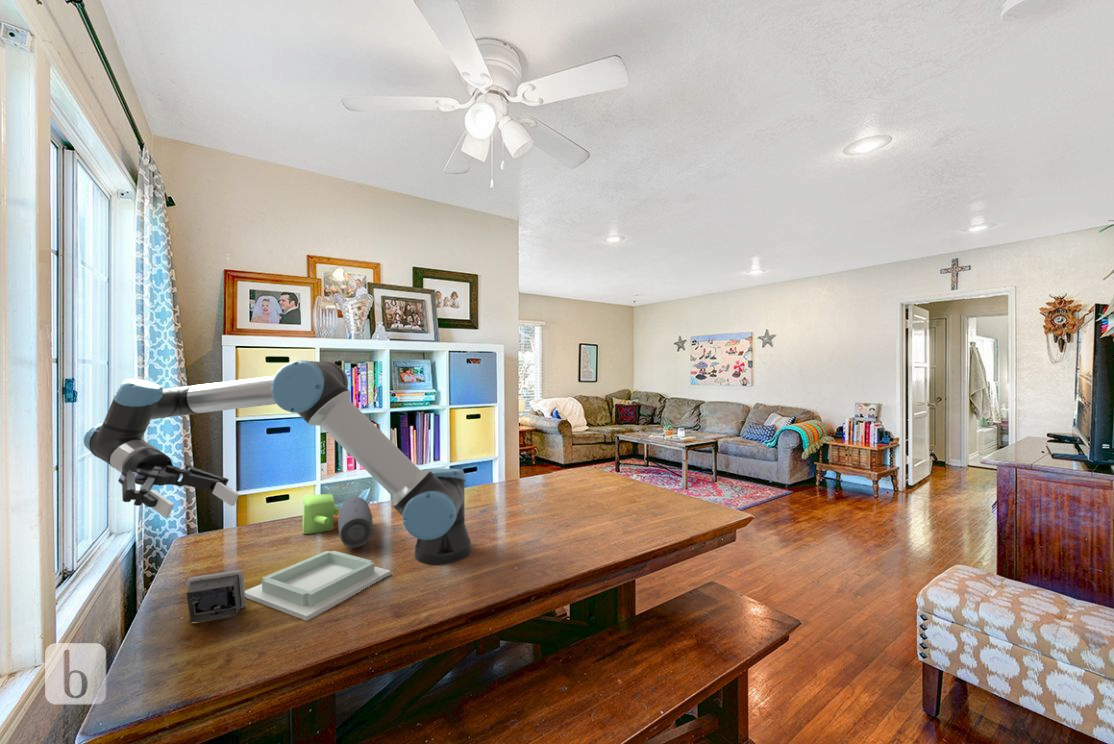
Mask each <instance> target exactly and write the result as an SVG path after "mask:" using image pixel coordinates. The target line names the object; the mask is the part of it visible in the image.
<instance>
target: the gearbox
mask: <svg viewBox="0 0 1114 744" xmlns="http://www.w3.org/2000/svg"><path fill="white" fill-rule="evenodd" d="M335 515H336V516H339V506H336V507H335V499H334V496H333V493H326V494H325V493H324V494H321V493H320V494H311V495H310V494H308V495H303V509H302V524H301V525H302V535H306V534H307V535H308V534H309V535H310V534H316V533H317V534H318V533H321V532H322V533H323V532H329V531H333V530H334V520H335V519H334V518H335Z"/></svg>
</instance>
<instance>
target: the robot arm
mask: <svg viewBox="0 0 1114 744" xmlns="http://www.w3.org/2000/svg"><path fill="white" fill-rule="evenodd" d="M351 396H352V392H351V391H350V390H349V379H348V376H347V373H346V372H345V371H344V369H342V367H340V366H339V365H338V364H335V363H333V362H331V361H318V360H317V361H312V360H305V359H304V360H297V361H292V362H288V363H286V364H285V365H283V366H281V367H280V368H279V369H278V370H277V371H276V373H275V374H274V375H271V376H268V375H267V376H260V377H252V378H245V379H243V378H242V379H235V380H228V381H227V380H226V381H220V382H211V383H202V384H194V385H185V386H174V387H163V386H161V385H160V384H158V383H156V382H152V381H150V380H146V379H138V378H129V379H128V378H127V379H125V380H123V381H122V382H121V384H120V385H119V387H118V389H117V391H116V392H115V394H114V395H113V398H112V401H111V404H110V406H109V408H108V411H107V414H106V415H105V418H104V420H103V422H101V423H98V424H95V425H94V426H93V427H92V428H91V429H90V430H89V429H88V431H86V432H85V434H84V437H83V444H84V447H85V449H87V450H88V451H89V452H90V453H91V454H92V456H94V457H96V458H97V459H99V460H101V461H104V463H106V464H108V465H109V466H110V467H112V468H113V469H115V470H116V471H117V472H119V473H120V476H119V478H118V481H117V482H118V483H119V484H120V485H121V488H122V489H121V493H122V502H124V503H129V502H131V501H133V500H134V503H133V505H134V506H137V507H138V506H139V507H140V506H142V505H145V506H146V507H148V508H151V509H152V510H154V511H155V512H156V513H158V514H159V515H161V516H163V518H169V517H170V516H171V513H172V510H173V509H174V506H175V503H174V502H172V501H171V500H169V498H167V497H165V496H163V495H162V494H161V493H159V492H158V491H157V490H155V489H153V486H159V487H160V486H168V485H171V486H177V487H183V486H187V487H192V488H196V489H201V490H206V491H210V492H212V494H213V495H214V496H216V497H217V498H218V499H220V500H222V501H223V502H225V503H226V504H228V505H229V506H230V507H233V506H235V505H236V502H237V500H238V498H239V496H240V494H239V493H238V492H236V491H235V490H233V489H232V488H230V487H229V486H227V484H228V483H229V478H226V477H223V476H222V475H218V474H214V473H211V472H207V471H206V470H202V469H199V468H196V467H195V466H193V465H191V464H187V465H185V467H184V468H180V467H177V466H174V465H173V462H172V458H171V457H170V456H169V455H167V454H166V453H163V451H161V450H159V449H158V448H157V447H155V446H154V445H152V444H150V443H148V442H147V441H146V440H144V439H143V437H144V436H145V433H146V431H147V428H148V426H149V424H150V422H151V420H156V419H157V420H158V419H165V418H173V417H179V416H181V417H182V416H190V415H197V414H203V413H204V414H205V413H210V412H220V411H228V410H229V411H230V410H236V409H245V408H252V407H253V408H255V407H263V406H270V405H271V406H272V405H277V406H278V407H279V408H280V409H282V410H285V411H286V412H289V413H293V414H298V415H299V416H300V418H302V419H303V420H304V421H305V423H307V424H308V425H309V426H319V427H321V428H323V430H324V431H325V432H326V433H327V434H328V435H329V436H330V437H332V438H333V439H334V440H335V441H336V443H338V444H339V445H340V446H341V447H342V448H343V449H344V450H345V451H346V452H347V453H348V454H349V455H350V456H351V457H352V458H353V459H354V460H355V461H356V462H357V463H358V464H359V465H361V467H362V468H363V469H364V470H365V471H366V472H367V473H368V474H369V475H370V476H371V477H373V479H374V480H376V481H377V483H378V484H379V485H381V486H382V488H384V489H385V490H386V492H388V493H389V494H390V495H391V496H392V506H393V508H394V509H395V510H397V512H398V513H399V514H401V516H402V523H403V527H404V528H405V530H406V531H407V532H408V534H409V535H411V536H412V537H413V538H416V539H417V540H416V543H415V545H414V558H415V559H416V560H417V561H419V562H421V563H424V564H430V565H441V564H442V565H443V564H449V563H453V562H458V561H459V560H460V561H461V560H462V559H464V558H465V557H467V556H468V555H470V553H471V551H472V542H471V538H470V537H469V532H468V529H467V526H466V522H465V515H466V514H465V511H466V510H465V505H466V504H465V501H466V500H465V499H466V498H465V491H466V490H465V482H466V478H465V472H464V470H462V469H459V468H435V469H434V468H433V469H432V468H431V469H420V468H419V467H418V466H417V465H416V464H415V463H414V462H413V461H412V460H410V458H408V456H406V455H405V453H403V451H401V449H400V448H399V447H397V445H396V444H394V443H393V442H392V440H391V439H389V437H388V436H386V435H385V434H384V432H382V431H381V430H380V429H379V428H378V427H377V425H375V424H374V423H373V422H372V420H370V418H368V417H367V415H365V414H364V413H363V412H362V411H361V410H360V409H359V407H357V406H356V405H355V404H354V403H353V402H352V400H351ZM181 476H182V477H181ZM180 477H181V479H180ZM179 479H180V481H179ZM136 485H140V486H141V487H140V489H139V490H136Z"/></svg>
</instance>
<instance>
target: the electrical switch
mask: <svg viewBox="0 0 1114 744" xmlns="http://www.w3.org/2000/svg"><path fill="white" fill-rule="evenodd" d="M186 588H187V591H186V599H187V607H188V613H189V621H190V623H191V622H200V623H203V622H202V621H206V622H211V621H214V620H215V621H216V620H221V619H225V618H226V619H227V618H232V617H237V616H236V615H238V613H239V611H240V608H241V609H243V608H244V607H245V606H246V603H247V601H246V598H245V591H246V590H245V580H244V572H243V570H241V569H235V570H227V571H223V572H215V573H209V574H208V573H207V574H202V575H196V576H190V577H189V578H188V579H187V580H186ZM217 613H218V614H217Z"/></svg>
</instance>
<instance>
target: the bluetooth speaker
mask: <svg viewBox="0 0 1114 744" xmlns="http://www.w3.org/2000/svg"><path fill="white" fill-rule="evenodd" d="M337 519H338V520H337V521H338V523H337V525H338V535H339V538H340V540H341V542H342V543H343V545H344V546H346V547H348V548H352V549H353V548H360V547H361V546H362V547H363V545H366V544H367V543H369V542H368V541H370V539H371V537H372V534H373V530H374V528H373V527H374V526H373V525H374V524H373V514H372V511H371V509H370V506H369V503H368V502H367V501H366V500H365V499H364V497H363V498H362V497H361V496H360V497H359V496H352V497H350V498H348V499H346V500H345V501H343V503H342V505H341V506H340V508H339V511H338V518H337Z"/></svg>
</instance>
